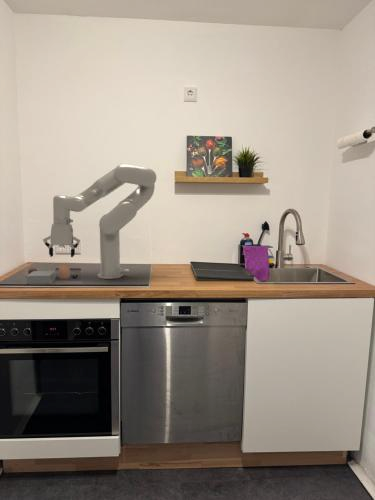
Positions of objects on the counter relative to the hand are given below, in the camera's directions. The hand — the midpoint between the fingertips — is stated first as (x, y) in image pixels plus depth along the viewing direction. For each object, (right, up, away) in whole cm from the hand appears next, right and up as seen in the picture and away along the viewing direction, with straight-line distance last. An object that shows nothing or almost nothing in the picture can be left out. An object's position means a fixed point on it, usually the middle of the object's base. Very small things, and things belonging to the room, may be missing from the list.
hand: (62, 256), depth 171 cm
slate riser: (-7, -12, -6) cm, 15 cm away
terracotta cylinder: (+1, -11, +2) cm, 11 cm away
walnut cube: (-16, -10, +4) cm, 19 cm away
